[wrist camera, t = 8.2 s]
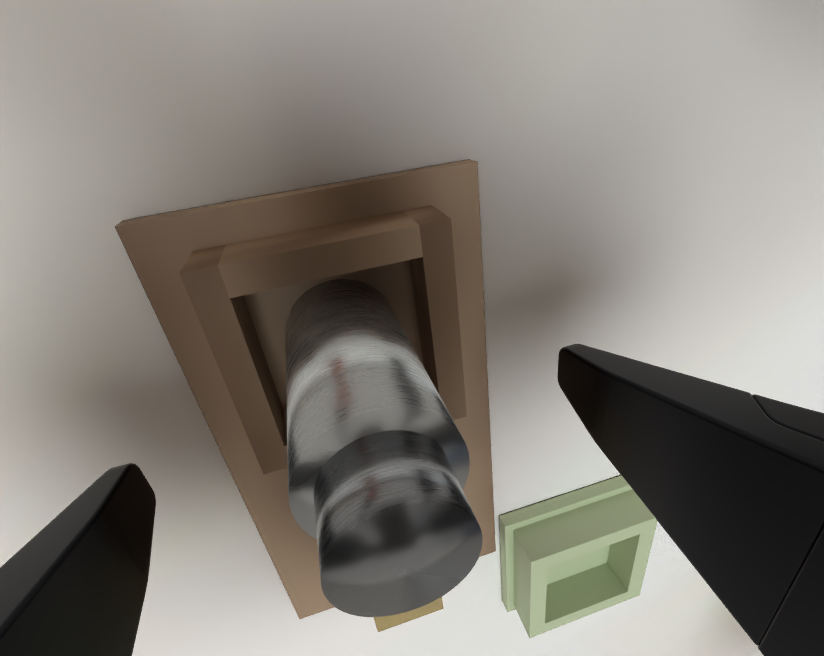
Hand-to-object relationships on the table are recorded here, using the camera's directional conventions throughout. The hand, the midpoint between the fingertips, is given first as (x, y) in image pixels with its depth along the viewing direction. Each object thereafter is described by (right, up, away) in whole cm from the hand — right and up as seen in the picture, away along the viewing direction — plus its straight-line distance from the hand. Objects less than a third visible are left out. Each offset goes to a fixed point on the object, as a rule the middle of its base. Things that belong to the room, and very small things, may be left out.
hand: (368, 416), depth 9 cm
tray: (+9, -9, +13) cm, 18 cm away
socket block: (-1, -2, +6) cm, 7 cm away
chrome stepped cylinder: (-1, +2, +4) cm, 4 cm away
